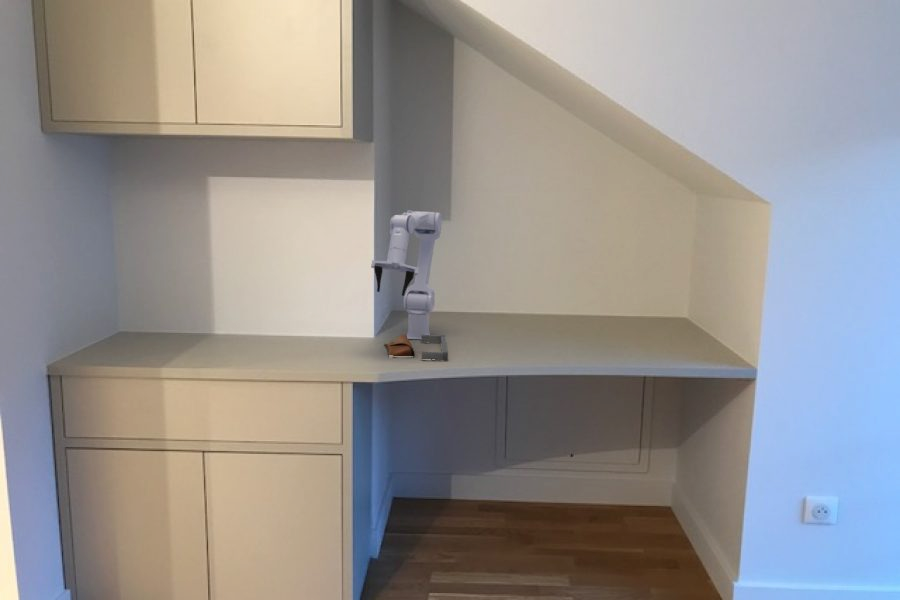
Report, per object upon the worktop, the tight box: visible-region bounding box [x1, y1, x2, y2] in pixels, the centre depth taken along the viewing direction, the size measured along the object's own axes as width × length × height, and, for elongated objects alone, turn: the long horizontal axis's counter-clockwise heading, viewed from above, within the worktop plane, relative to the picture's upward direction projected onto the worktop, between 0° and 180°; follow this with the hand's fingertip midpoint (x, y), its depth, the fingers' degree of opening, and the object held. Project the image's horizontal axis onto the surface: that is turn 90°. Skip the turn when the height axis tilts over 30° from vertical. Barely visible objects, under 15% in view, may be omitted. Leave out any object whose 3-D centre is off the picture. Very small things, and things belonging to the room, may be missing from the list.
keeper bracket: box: [420, 334, 449, 360], centre depth 229 cm, size 24×8×2 cm, turn 3°
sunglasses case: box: [384, 333, 416, 357], centre depth 228 cm, size 18×7×7 cm
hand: (390, 293), depth 217 cm, fingers open, 7 cm apart
